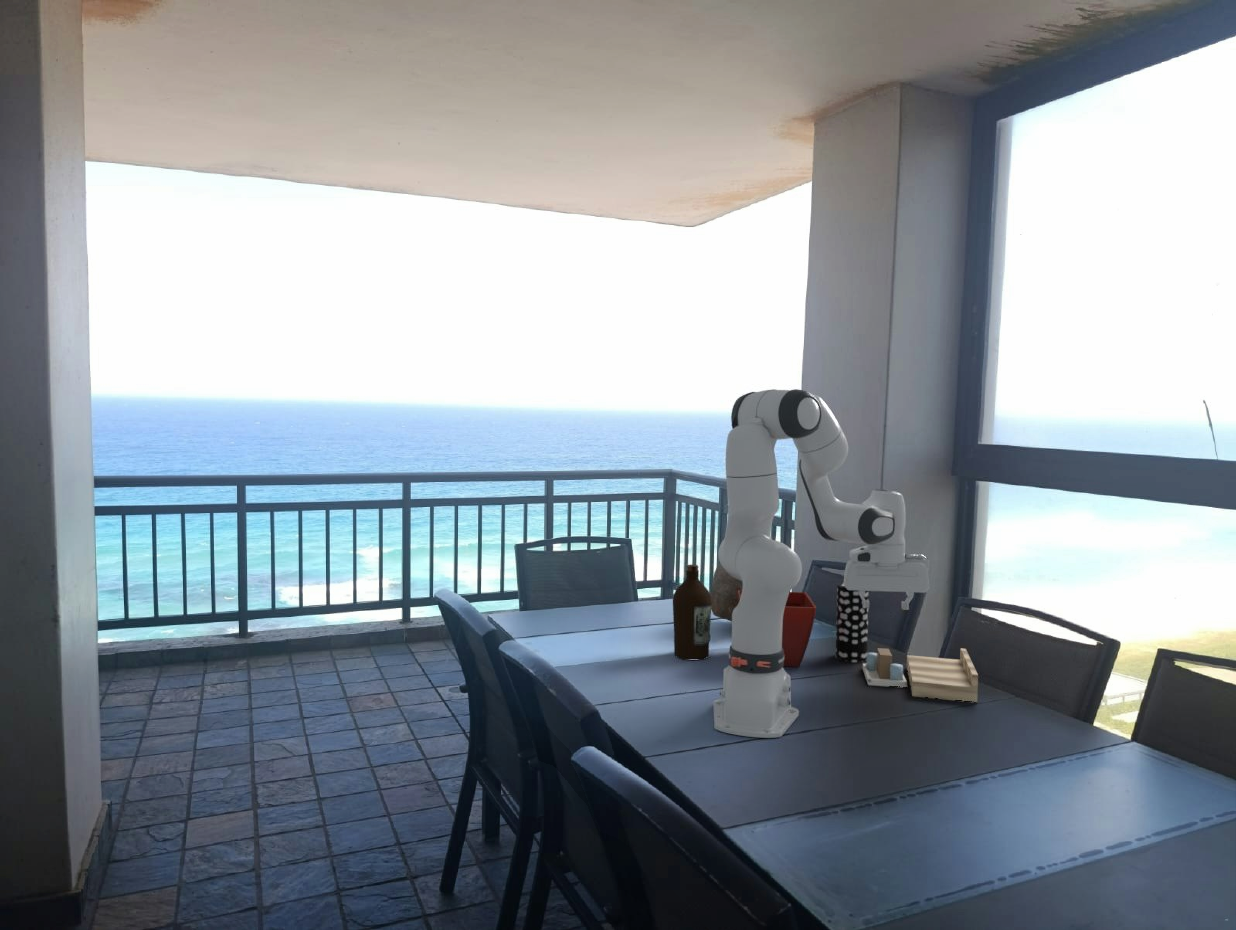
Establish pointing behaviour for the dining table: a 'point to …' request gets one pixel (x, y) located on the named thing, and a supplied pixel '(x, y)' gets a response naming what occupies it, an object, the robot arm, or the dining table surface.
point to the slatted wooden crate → (943, 677)
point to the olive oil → (692, 617)
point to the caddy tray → (881, 682)
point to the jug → (724, 593)
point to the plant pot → (796, 626)
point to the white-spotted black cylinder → (851, 625)
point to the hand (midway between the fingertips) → (885, 608)
